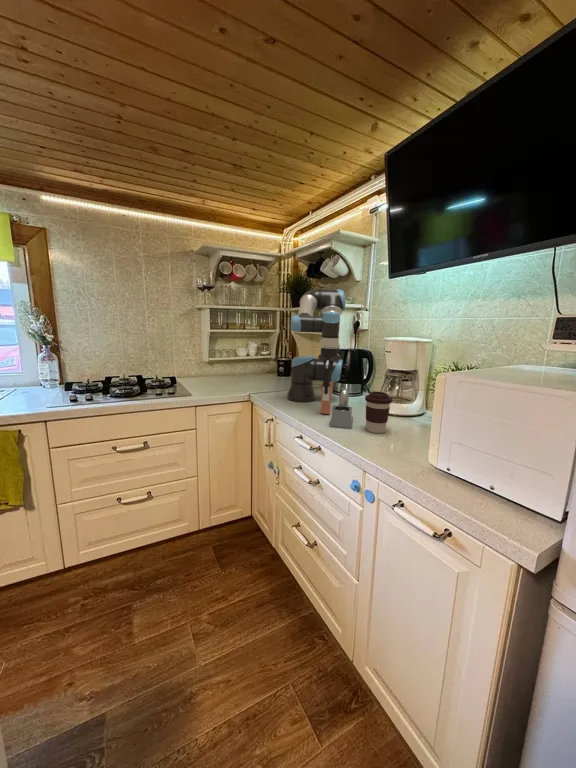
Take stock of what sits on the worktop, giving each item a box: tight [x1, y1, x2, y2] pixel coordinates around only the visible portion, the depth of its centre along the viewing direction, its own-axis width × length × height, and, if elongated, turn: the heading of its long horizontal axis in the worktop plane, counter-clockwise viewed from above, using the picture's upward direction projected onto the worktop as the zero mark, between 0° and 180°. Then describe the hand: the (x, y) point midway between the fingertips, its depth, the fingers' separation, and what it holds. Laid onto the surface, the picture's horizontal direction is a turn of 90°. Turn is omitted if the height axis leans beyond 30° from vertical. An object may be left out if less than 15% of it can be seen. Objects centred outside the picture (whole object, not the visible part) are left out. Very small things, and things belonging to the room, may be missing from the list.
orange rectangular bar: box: [320, 382, 333, 415], centre depth 144 cm, size 4×4×14 cm
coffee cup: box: [364, 391, 393, 434], centre depth 124 cm, size 10×10×15 cm
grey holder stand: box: [328, 388, 354, 430], centre depth 133 cm, size 16×9×13 cm, turn 167°
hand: (326, 399), depth 145 cm, fingers closed on orange rectangular bar, 4 cm apart
